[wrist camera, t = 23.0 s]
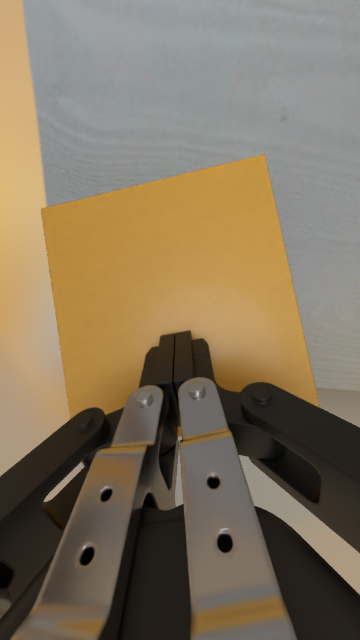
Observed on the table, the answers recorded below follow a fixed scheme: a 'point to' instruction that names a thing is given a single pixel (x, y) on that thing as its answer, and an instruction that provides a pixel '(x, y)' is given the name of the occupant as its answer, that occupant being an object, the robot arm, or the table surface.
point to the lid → (175, 283)
